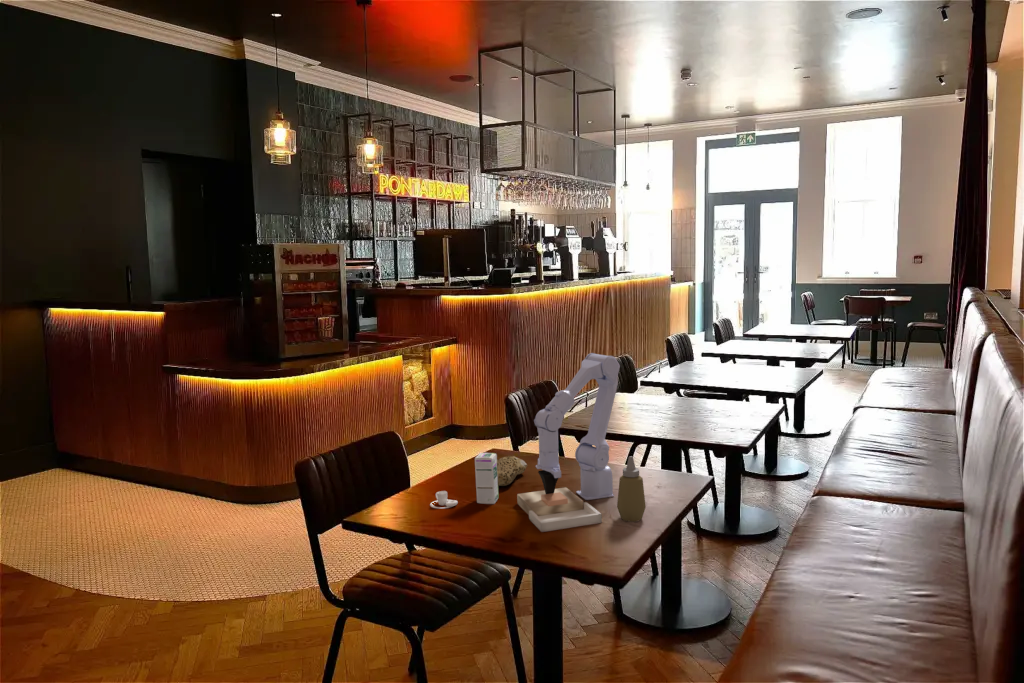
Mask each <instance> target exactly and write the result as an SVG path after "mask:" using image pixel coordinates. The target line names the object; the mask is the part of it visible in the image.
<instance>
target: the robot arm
mask: <svg viewBox="0 0 1024 683" xmlns="http://www.w3.org/2000/svg"><path fill="white" fill-rule="evenodd" d="M620 368H621V365H620V363H619V362H618V360H617V357H616V356H613V355H605V354H598V353H595V352H590V353H588V354H587V355H586V356H585V358H584V359H583V360H581V364H580V368H579V369H578V371H577V372H576V374H575V375H574V377H573V378H572V379H571V381H570V383H568V385H567V387H566V388H565V389H562V390H559V391H556V392H555V394H554V395H555V396H554V397H552V399H551V401H549V403H548V404H547V405H545V408H542V409H540V410H539V411H537V413H536V415H535V417H534V419H533V422H534V426H535V427H536V428H537V433H538V456H539V457H538V458H537V464H536V465H535V468H536V469H537V470H538V472H537V473H538V475H539V477H540V479H541V481H542V485H543V489H544V490H545V493H546V494H551V493H554V491H555V489H556V487H557V483H558V480H559V479H560V478H562V470H561V466H560V463H559V461H560V460H559V459H560V458H559V429H560V428H561V427H562V424H563V420H564V417H565V415H566V414H568V413H567V412H569V411H570V409H571V408H572V406H573V405H575V397H576V396H577V395H578V394H579V392H581V390H582V389H583V388H585V386H586V385H587V384H588V383H589V382H590V381H591V380H595V381H596V383H597V384H598V389H597V393H596V396H595V397H596V398H595V401H594V407H593V411H592V415H591V419H590V423H589V426H588V431H587V434H586V435H585V436H583V437H582V438H581V439H580V442H579V444H578V446H577V447H576V449H575V454H574V457H575V460H576V461H577V463H578V466H579V467H580V490H576V491H575V493H576V495H579V496H580V497H581V499H584V500H585V501H590V500H598V499H604V498H613V497H614V496H615V495H614V494H613V493H614V492H613V491H614V490H613V489H614V488H613V482H614V481H613V471H612V468H611V467H610V466H609V465H608V464H609V461H610V455H609V454H610V453H609V451H610V445H609V444H608V442H607V441H606V435H607V430H608V426H609V422H610V418H611V413H612V410H613V406H614V402H615V397H616V394H617V389H618V385H619V378H618V376H619V373H620V372H619V371H620Z"/></svg>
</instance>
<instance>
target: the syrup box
mask: <svg viewBox="0 0 1024 683" xmlns="http://www.w3.org/2000/svg"><path fill="white" fill-rule="evenodd" d="M497 460H498V454H497V452H496V453H495V452H479V453H478V455H476V457H474V468H475V469H474V472H475V475H474V476H475V488H476V490H475V491H476V492H475V493H476V494H475V495H476V503H477V504H484V505H495V504H496V502H498V499H499V495H500V494H499V486H498V473H497Z"/></svg>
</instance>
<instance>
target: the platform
mask: <svg viewBox="0 0 1024 683" xmlns="http://www.w3.org/2000/svg"><path fill="white" fill-rule="evenodd" d="M558 492H560V493H562V494H563V495H564V496H565V497H566V498H568V504H562V505H555V506H547V505H546V504H545V503H544V502H543V501H542V500H541V495H544V494H546V493H545V490H543V489H542V490H537V491H531V492H522V493H517V495H516V497H517V498H516V499H517V500H516V501H517V505H518V506H519V507H520V508H521V509H522V510H523V511H524V512H525V513H526V514H527V515H528V516H529V511H531V510H532V511H533V512H534V513H535V514H536V515H537V516H543V515H549V514H556V513H563V512H569V511H576V510H583V509H584V500H583V498H580V497H579V496H578V494H575V493H574V492H572V490H570V489H569V488H568V487H566V486H565V487H559V488H555V491H554V493H558Z"/></svg>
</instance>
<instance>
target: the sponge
mask: <svg viewBox="0 0 1024 683" xmlns="http://www.w3.org/2000/svg"><path fill="white" fill-rule="evenodd" d="M527 468H528V464H527V463H526V461H525V460H523V459H522V458H519V457H516V456H515V455H507V456H503V457H501V458H499V459H497V473H498V487H506V486H508V485H510V484H511V483H512V482H513V481H514V480H515V479H516V477H517V476H518V475H521V474H523V473H525V471H526V469H527Z"/></svg>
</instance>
